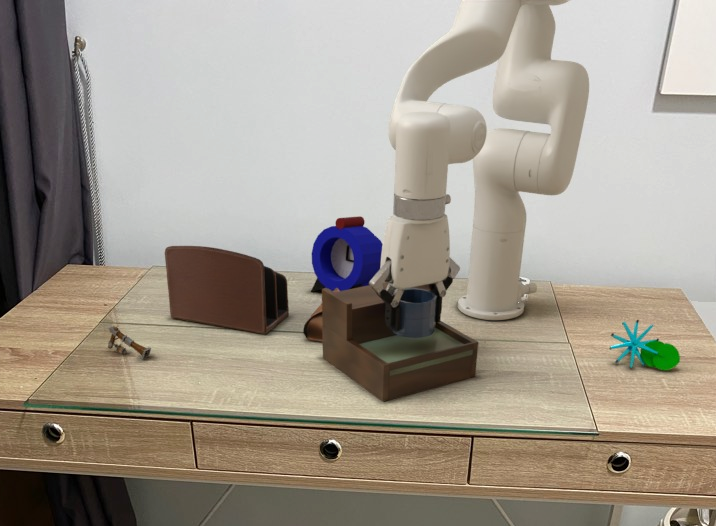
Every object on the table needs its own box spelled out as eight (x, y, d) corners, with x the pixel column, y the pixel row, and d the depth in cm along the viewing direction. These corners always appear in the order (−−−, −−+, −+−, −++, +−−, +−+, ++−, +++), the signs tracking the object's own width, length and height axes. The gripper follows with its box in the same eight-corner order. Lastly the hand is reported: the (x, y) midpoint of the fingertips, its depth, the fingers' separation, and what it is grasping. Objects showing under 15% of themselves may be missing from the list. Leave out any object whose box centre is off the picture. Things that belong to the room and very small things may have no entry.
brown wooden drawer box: (322, 357, 147) (321, 288, 140) (410, 336, 155) (413, 270, 148) (382, 401, 134) (385, 328, 127) (475, 376, 141) (482, 305, 134)
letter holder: (265, 335, 155) (261, 256, 146) (169, 319, 160) (160, 242, 152) (289, 316, 162) (286, 240, 154) (197, 301, 168) (189, 226, 160)
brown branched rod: (107, 342, 149) (112, 321, 146) (145, 367, 149) (151, 346, 146) (101, 346, 148) (106, 324, 145) (139, 371, 147) (145, 350, 144)
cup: (418, 318, 140) (420, 285, 137) (442, 332, 136) (445, 298, 132) (383, 326, 137) (384, 292, 134) (407, 341, 133) (408, 306, 130)
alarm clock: (308, 292, 172) (306, 215, 163) (344, 276, 180) (344, 201, 172) (359, 306, 167) (359, 226, 158) (393, 288, 175) (396, 211, 166)
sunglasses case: (349, 342, 151) (330, 308, 148) (316, 357, 154) (297, 325, 151) (373, 306, 165) (356, 275, 162) (343, 321, 168) (326, 290, 166)
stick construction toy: (602, 353, 144) (623, 310, 143) (596, 361, 151) (616, 320, 150) (669, 383, 142) (691, 340, 142) (660, 390, 149) (681, 348, 149)
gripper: (452, 194, 132) (443, 307, 142) (354, 208, 125) (353, 326, 135) (482, 205, 127) (471, 321, 137) (382, 221, 119) (379, 343, 130)
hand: (413, 323), depth 136 cm, fingers closed on cup, 6 cm apart
